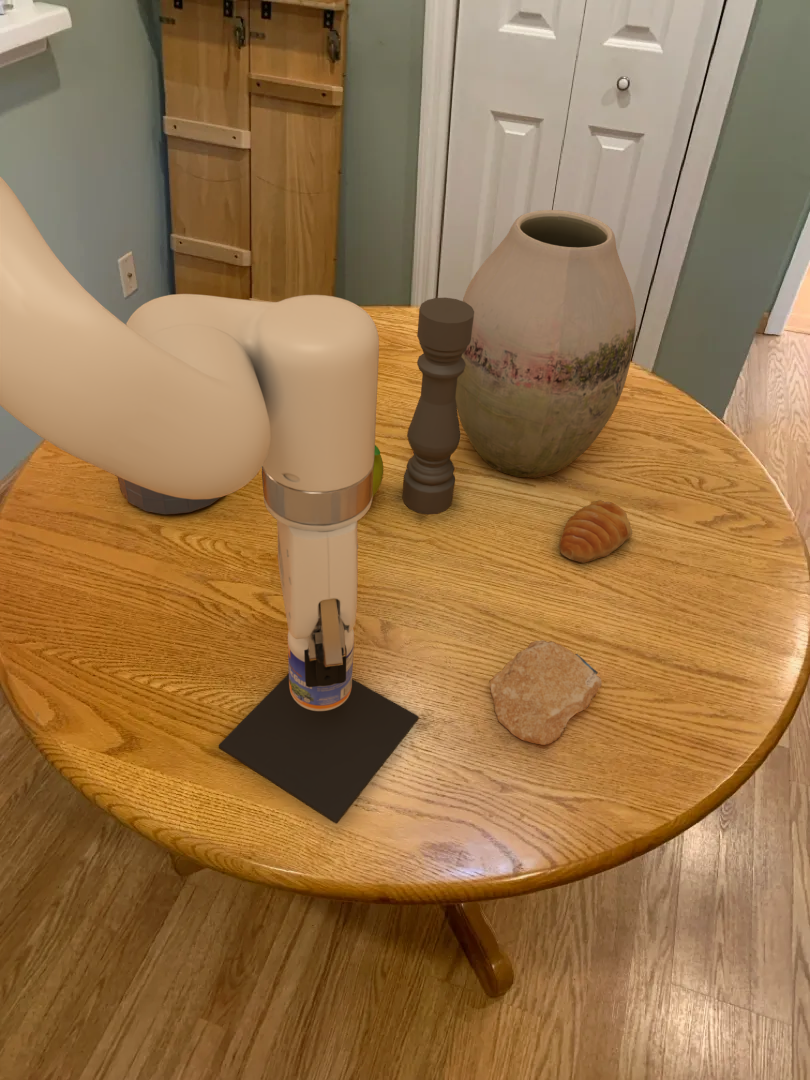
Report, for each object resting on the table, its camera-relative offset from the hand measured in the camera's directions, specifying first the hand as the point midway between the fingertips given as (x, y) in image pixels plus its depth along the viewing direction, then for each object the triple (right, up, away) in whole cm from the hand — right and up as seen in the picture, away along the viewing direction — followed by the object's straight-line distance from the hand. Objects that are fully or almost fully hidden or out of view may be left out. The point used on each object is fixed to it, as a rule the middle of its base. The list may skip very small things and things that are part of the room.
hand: (320, 651), depth 70 cm
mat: (-1, -9, +8) cm, 11 cm away
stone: (+20, -7, +12) cm, 24 cm away
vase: (+23, +21, +43) cm, 53 cm away
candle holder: (+10, +14, +34) cm, 38 cm away
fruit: (-1, +14, +33) cm, 35 cm away
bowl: (-21, +16, +33) cm, 42 cm away
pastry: (+29, +9, +30) cm, 43 cm away
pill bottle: (0, -4, +3) cm, 5 cm away
